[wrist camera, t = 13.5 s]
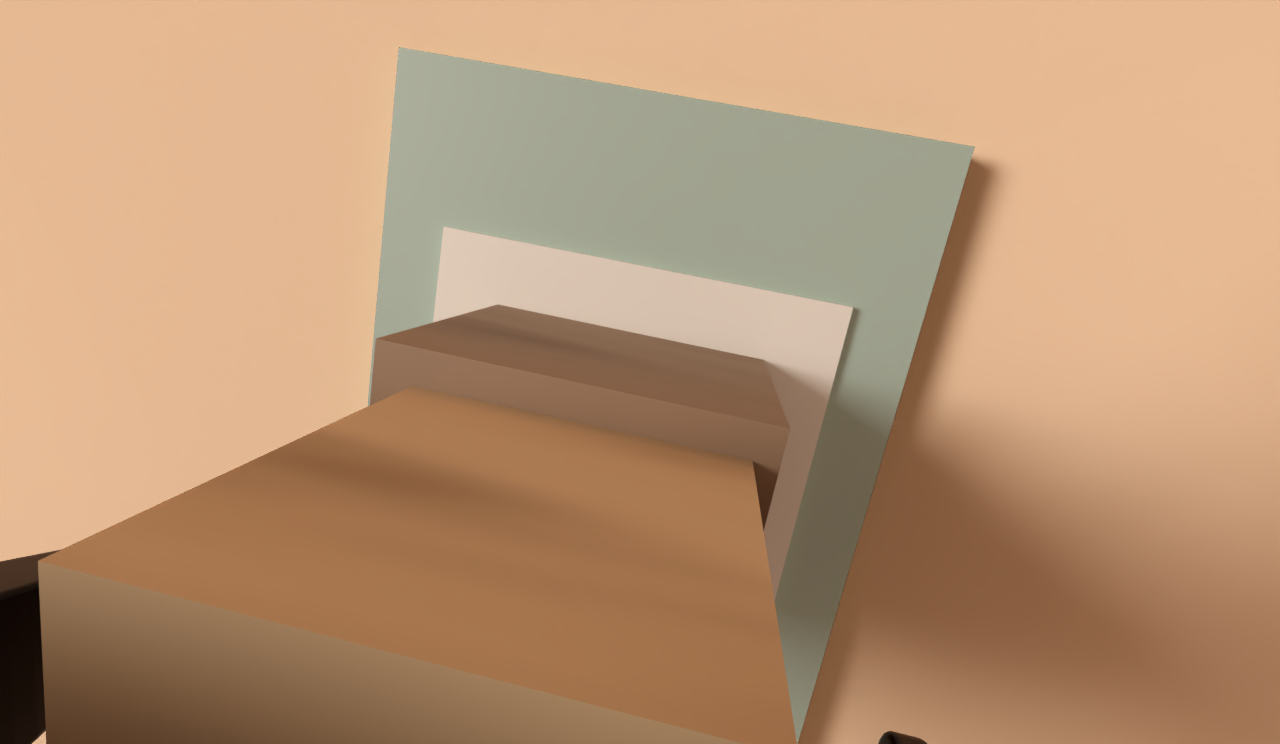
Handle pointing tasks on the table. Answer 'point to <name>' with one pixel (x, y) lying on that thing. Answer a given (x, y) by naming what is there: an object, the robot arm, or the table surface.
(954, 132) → the table surface
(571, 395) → the walnut block
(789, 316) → the base board
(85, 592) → the oak cube
